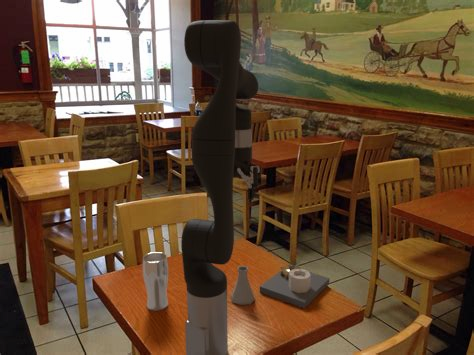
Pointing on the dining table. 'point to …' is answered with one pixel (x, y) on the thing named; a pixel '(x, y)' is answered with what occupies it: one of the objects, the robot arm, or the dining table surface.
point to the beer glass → (156, 280)
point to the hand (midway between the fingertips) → (239, 197)
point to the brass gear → (288, 270)
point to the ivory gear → (299, 280)
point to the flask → (242, 288)
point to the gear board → (281, 291)
